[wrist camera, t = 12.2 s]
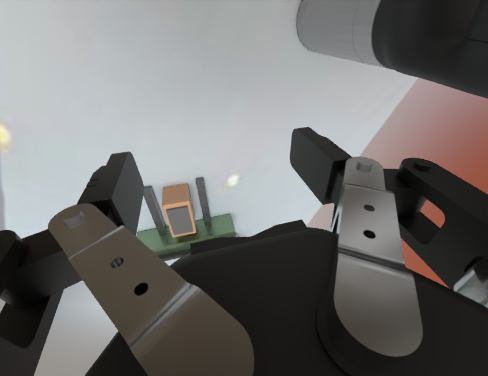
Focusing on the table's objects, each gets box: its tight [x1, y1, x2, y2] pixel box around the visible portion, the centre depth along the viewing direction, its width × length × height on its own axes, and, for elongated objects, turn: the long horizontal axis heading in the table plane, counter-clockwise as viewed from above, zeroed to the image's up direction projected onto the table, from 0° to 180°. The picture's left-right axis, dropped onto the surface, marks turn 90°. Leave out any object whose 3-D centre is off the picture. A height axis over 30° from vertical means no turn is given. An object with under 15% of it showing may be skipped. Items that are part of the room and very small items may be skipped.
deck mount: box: [136, 177, 236, 261], centre depth 48 cm, size 22×15×7 cm
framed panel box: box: [162, 184, 196, 237], centre depth 47 cm, size 5×9×6 cm, turn 1°
